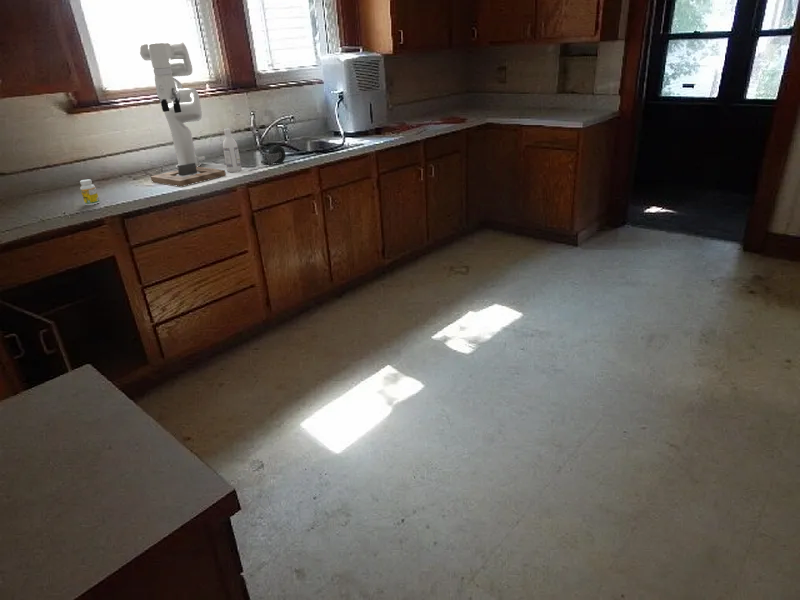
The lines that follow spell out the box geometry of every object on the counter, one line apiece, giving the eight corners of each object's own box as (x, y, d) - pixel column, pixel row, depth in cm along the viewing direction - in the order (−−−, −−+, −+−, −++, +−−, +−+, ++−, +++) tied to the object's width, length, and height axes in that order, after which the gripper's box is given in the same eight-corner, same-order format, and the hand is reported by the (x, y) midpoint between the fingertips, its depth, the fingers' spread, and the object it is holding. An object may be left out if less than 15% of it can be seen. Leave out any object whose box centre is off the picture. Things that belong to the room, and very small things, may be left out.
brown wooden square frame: (196, 171, 266) (195, 166, 265) (225, 175, 253) (224, 169, 251) (152, 181, 249) (150, 175, 248) (180, 186, 236) (179, 180, 234)
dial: (173, 178, 252) (170, 164, 249) (196, 174, 258) (193, 161, 255) (180, 182, 244) (177, 167, 241) (204, 177, 250) (201, 163, 247)
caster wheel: (280, 163, 278) (258, 166, 267) (279, 144, 275) (256, 146, 264) (288, 164, 275) (265, 167, 264) (286, 144, 272) (264, 146, 260)
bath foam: (240, 168, 266) (233, 127, 257) (243, 171, 260) (235, 128, 252) (226, 170, 263) (218, 128, 255) (228, 173, 258) (220, 130, 249)
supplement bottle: (102, 203, 216) (95, 179, 212) (89, 206, 212) (81, 182, 208) (95, 201, 219) (88, 178, 215) (82, 204, 215) (75, 181, 211)
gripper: (145, 73, 243) (154, 112, 251) (166, 73, 234) (175, 114, 242) (159, 71, 248) (168, 109, 256) (181, 71, 239) (189, 111, 247)
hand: (172, 111), depth 249 cm, fingers open, 9 cm apart
